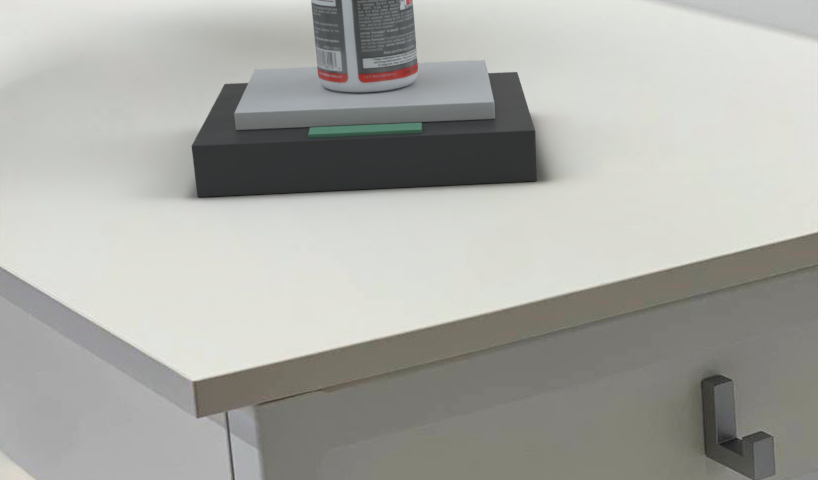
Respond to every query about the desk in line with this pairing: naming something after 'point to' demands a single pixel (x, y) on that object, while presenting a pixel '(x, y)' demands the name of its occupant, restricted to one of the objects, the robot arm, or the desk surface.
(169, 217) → the desk surface
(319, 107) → the scale
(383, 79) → the pill bottle
